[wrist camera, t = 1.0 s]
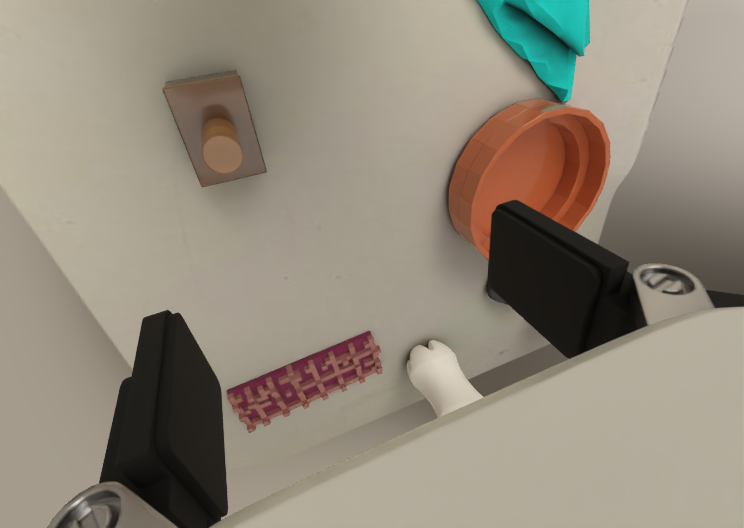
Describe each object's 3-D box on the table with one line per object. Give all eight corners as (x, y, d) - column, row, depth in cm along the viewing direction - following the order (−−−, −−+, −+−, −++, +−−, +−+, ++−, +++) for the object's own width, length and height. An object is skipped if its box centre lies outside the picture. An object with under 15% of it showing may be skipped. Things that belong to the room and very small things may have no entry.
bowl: (446, 116, 36) (475, 129, 33) (588, 84, 40) (629, 92, 37) (445, 261, 47) (467, 283, 43) (558, 223, 51) (588, 241, 47)
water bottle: (446, 328, 54) (587, 509, 34) (444, 361, 58) (569, 539, 38) (399, 345, 52) (520, 545, 32) (402, 378, 56) (510, 573, 37)
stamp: (165, 81, 27) (155, 103, 21) (235, 69, 28) (246, 86, 22) (201, 173, 31) (202, 215, 25) (261, 160, 32) (277, 196, 26)
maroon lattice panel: (383, 364, 53) (388, 374, 51) (249, 422, 49) (251, 435, 48) (374, 329, 48) (380, 339, 47) (227, 390, 45) (228, 403, 43)
